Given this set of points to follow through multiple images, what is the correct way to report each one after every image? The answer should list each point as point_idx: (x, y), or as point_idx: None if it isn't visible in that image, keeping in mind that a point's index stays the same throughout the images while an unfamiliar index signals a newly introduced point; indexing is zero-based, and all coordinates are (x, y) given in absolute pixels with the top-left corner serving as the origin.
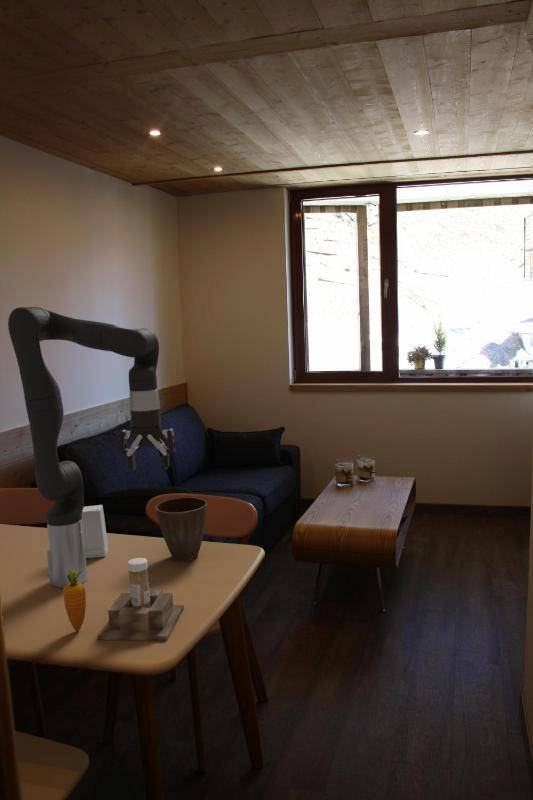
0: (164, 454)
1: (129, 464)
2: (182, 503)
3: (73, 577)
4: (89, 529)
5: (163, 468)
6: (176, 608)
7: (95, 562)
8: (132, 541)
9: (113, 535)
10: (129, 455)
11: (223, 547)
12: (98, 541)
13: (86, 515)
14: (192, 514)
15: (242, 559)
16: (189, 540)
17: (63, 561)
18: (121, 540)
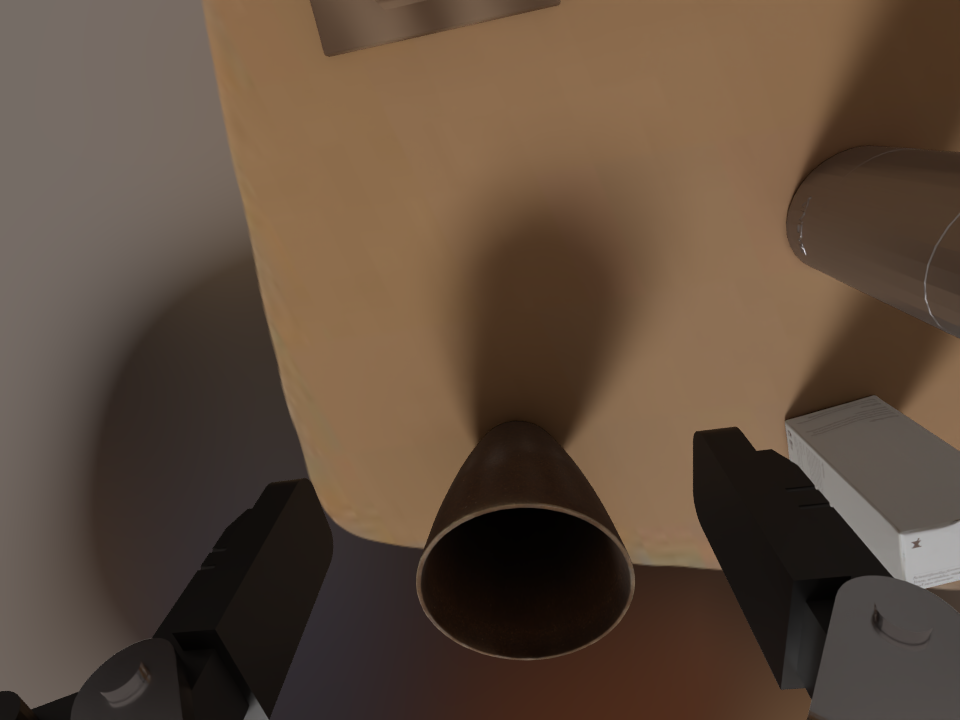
0: (150, 657)
1: (789, 483)
2: (554, 632)
3: None
4: (898, 466)
5: (289, 481)
6: (334, 16)
7: (804, 377)
8: None
9: None
10: (868, 590)
11: None
12: (834, 445)
13: (954, 505)
14: (444, 521)
15: (339, 455)
16: (474, 455)
17: (925, 155)
18: None
